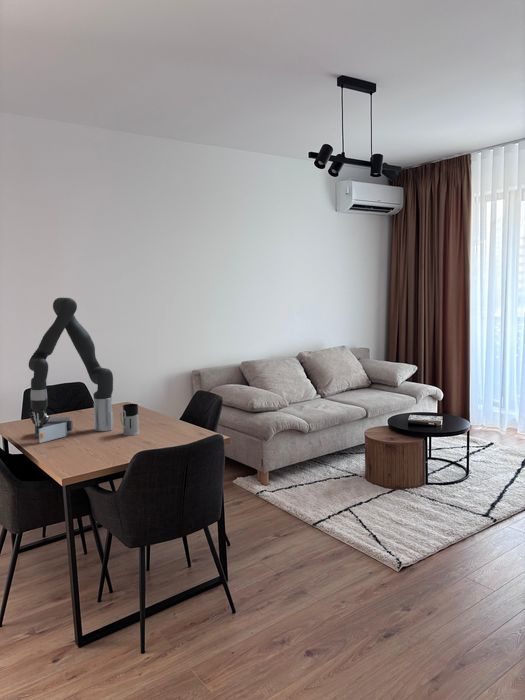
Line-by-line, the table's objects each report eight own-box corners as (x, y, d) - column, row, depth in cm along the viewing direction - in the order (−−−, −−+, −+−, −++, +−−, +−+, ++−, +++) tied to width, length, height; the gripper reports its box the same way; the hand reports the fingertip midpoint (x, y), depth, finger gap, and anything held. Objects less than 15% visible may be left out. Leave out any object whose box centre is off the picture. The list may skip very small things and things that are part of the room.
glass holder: (142, 432, 288) (142, 403, 286) (129, 438, 274) (128, 409, 273) (127, 431, 290) (127, 403, 288) (113, 437, 276) (112, 408, 275)
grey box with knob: (73, 431, 289) (73, 415, 288) (68, 436, 279) (68, 419, 278) (41, 432, 287) (40, 416, 287) (35, 437, 277) (34, 420, 277)
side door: (66, 435, 279) (65, 422, 278) (68, 436, 278) (68, 422, 277) (39, 442, 265) (38, 428, 265) (41, 443, 264) (41, 429, 264)
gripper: (23, 398, 267) (24, 433, 268) (41, 401, 260) (42, 436, 262) (36, 395, 273) (37, 430, 275) (54, 398, 266) (55, 433, 268)
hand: (39, 433), depth 268 cm, fingers closed
